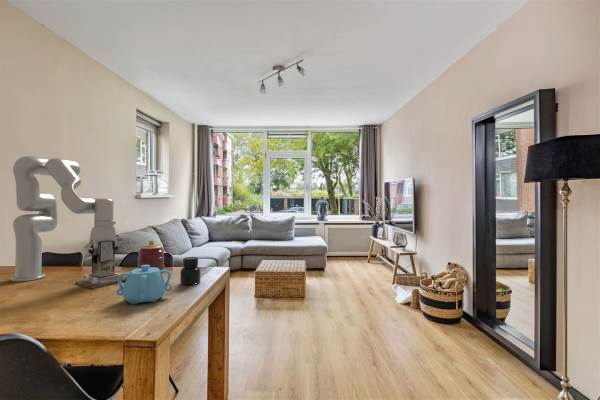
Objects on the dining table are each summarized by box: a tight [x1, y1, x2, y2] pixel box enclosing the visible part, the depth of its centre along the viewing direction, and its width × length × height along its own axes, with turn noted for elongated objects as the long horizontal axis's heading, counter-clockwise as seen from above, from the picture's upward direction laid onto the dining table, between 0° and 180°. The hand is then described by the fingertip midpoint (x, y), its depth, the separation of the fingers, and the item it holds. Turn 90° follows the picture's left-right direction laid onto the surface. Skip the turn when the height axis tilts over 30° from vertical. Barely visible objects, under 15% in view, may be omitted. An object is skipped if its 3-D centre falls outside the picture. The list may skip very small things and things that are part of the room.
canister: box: [137, 240, 166, 274], centre depth 159 cm, size 13×13×18 cm
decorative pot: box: [115, 265, 173, 305], centre depth 116 cm, size 16×16×14 cm
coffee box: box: [91, 241, 116, 277], centre depth 140 cm, size 9×6×16 cm
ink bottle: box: [179, 256, 201, 286], centre depth 140 cm, size 10×9×12 cm
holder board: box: [75, 272, 128, 290], centre depth 140 cm, size 16×16×4 cm
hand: (103, 261), depth 140 cm, fingers closed on coffee box, 6 cm apart
